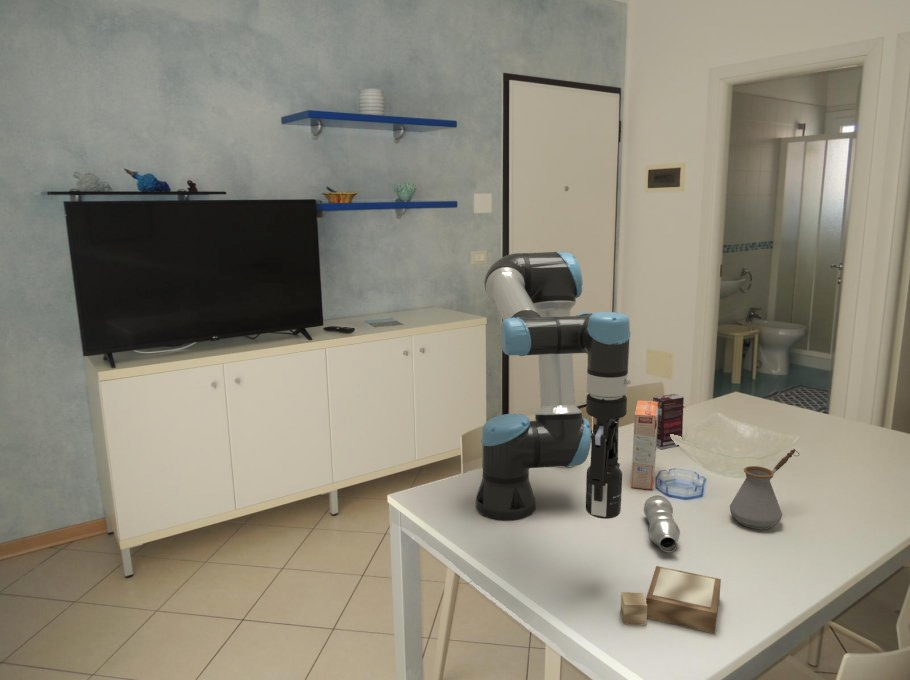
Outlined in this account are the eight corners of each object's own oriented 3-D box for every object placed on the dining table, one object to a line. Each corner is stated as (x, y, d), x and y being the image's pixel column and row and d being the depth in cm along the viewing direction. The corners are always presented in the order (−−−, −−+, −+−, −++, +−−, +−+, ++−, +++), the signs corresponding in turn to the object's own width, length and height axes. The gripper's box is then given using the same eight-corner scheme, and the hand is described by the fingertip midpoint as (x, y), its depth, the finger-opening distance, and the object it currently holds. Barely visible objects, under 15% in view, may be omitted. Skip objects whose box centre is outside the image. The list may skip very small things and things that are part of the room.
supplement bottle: (621, 521, 127) (623, 462, 125) (585, 518, 129) (586, 460, 126) (620, 505, 134) (622, 448, 131) (585, 502, 135) (587, 447, 133)
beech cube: (623, 624, 121) (624, 604, 120) (620, 611, 125) (621, 592, 124) (646, 625, 121) (647, 605, 120) (642, 612, 124) (643, 592, 124)
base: (645, 617, 123) (646, 596, 122) (655, 584, 133) (656, 564, 133) (714, 633, 118) (716, 611, 117) (719, 597, 128) (720, 577, 128)
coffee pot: (763, 538, 151) (768, 476, 148) (718, 519, 160) (722, 460, 157) (813, 513, 162) (819, 455, 160) (769, 497, 172) (774, 442, 169)
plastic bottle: (673, 515, 162) (686, 556, 142) (644, 518, 163) (654, 560, 144) (668, 490, 161) (682, 528, 141) (640, 494, 162) (649, 532, 143)
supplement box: (671, 440, 214) (674, 393, 211) (682, 445, 209) (685, 397, 206) (650, 445, 210) (652, 396, 207) (660, 449, 206) (663, 400, 203)
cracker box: (653, 491, 177) (657, 415, 173) (630, 488, 179) (633, 413, 174) (656, 471, 190) (659, 400, 186) (634, 469, 192) (636, 399, 187)
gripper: (615, 411, 116) (611, 532, 121) (636, 383, 133) (631, 490, 138) (573, 406, 119) (571, 525, 124) (599, 379, 137) (595, 484, 141)
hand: (603, 506), depth 131 cm, fingers closed on supplement bottle, 7 cm apart
